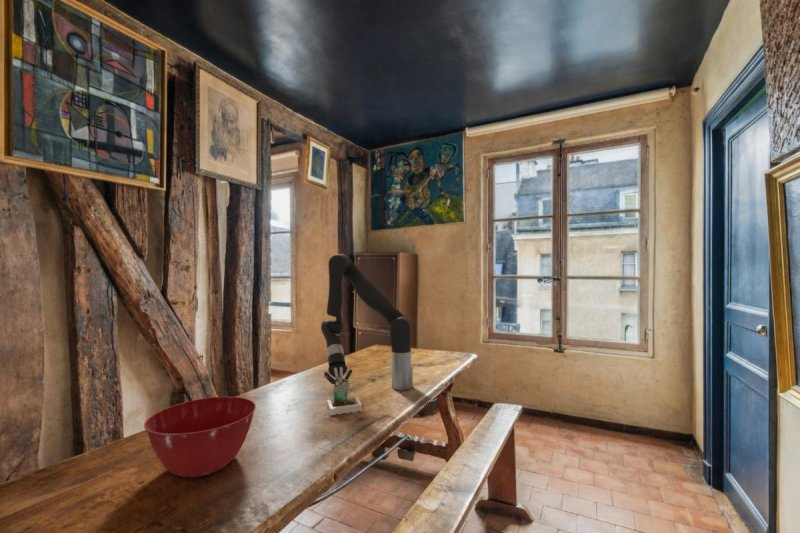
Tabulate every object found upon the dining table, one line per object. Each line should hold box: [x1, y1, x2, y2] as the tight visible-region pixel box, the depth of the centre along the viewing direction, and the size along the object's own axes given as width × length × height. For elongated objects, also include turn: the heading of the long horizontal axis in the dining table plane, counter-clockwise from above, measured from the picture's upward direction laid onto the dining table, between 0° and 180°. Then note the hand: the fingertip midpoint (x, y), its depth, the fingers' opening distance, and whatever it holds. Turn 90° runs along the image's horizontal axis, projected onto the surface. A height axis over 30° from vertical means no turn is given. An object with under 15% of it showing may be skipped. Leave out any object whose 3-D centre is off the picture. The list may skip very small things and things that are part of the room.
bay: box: [326, 395, 363, 416], centre depth 150 cm, size 12×10×2 cm
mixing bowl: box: [143, 396, 257, 479], centre depth 108 cm, size 28×28×16 cm
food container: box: [333, 377, 350, 407], centre depth 152 cm, size 12×6×10 cm, turn 7°
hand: (340, 391), depth 158 cm, fingers closed
